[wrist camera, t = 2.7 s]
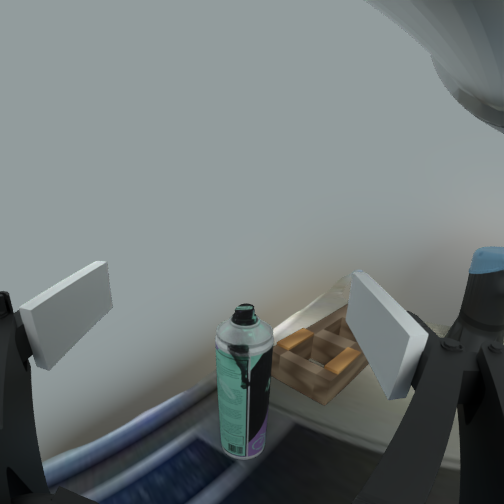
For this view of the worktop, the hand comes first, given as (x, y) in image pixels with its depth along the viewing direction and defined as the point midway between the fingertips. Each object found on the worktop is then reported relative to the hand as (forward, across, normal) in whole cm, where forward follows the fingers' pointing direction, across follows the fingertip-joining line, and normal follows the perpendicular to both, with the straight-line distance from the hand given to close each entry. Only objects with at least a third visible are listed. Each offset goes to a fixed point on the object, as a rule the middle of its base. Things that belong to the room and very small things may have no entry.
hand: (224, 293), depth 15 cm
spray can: (+10, +1, -26) cm, 28 cm away
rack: (+33, +19, -25) cm, 46 cm away
